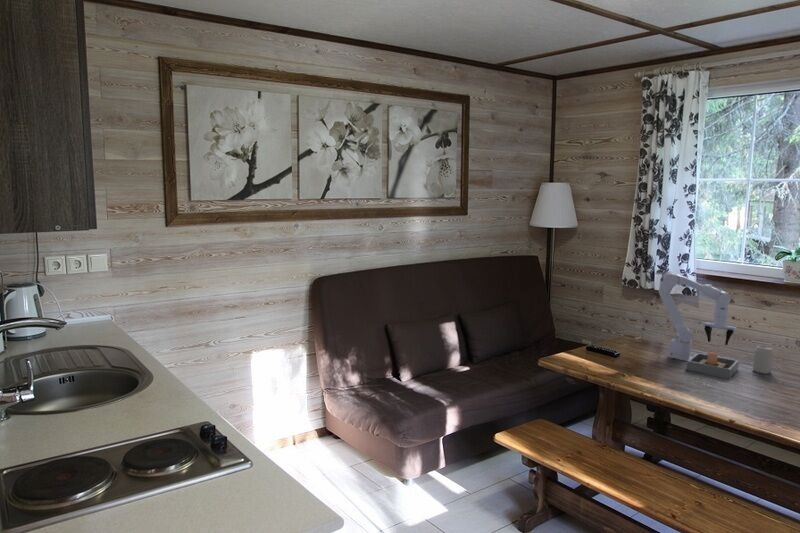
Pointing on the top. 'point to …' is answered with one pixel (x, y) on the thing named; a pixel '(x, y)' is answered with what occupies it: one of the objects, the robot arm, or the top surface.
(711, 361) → the peg
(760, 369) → the can
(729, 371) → the box
